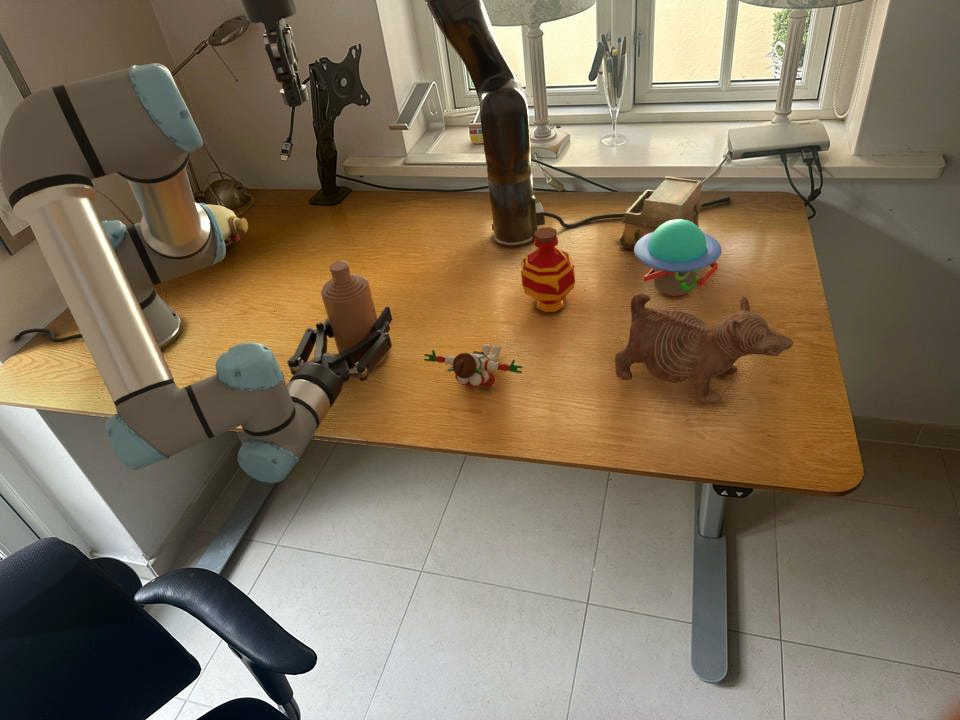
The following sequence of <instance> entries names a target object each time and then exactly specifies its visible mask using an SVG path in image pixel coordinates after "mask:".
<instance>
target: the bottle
mask: <svg viewBox="0 0 960 720" xmlns="http://www.w3.org/2000/svg"><path fill="white" fill-rule="evenodd" d="M328 269H329V272H330V274H331V279H329V280H328V281H326V282H325V283H324V284H323V286H322V287H321V290H320V295H321V298H322V302H323V305H324V308H325V312H326V316H327V318H328V319H329V323H330V326H331V329H332V333H333V336H334V337H333V340H334V342H335V346H336V349H337V352H338V353H337V354H339V353H341V352H342V351H343V350H345V349H346V350H349V349H350V348H352V347H353V346H355V345H356V344H357V343H359V342H360V341H361V340H363V339H364V338H366V337H367V336H368V335H370V334H371V333H373V332H372V329H371V328H372V327H373V325H374V324H375V322H376V321H377V319H378V315H377V311H376V307H375V303H374V298H373V294H372V290H371V286H370V283H369V281H368V279H367V278H366V277H364V276H363V275H361V274H356V273H351V269H350V263H348V262H347V261H346V260H337V261H335V262H332V263H331V264H330V265H329V267H328ZM386 355H387V353H386V354H385V355H384V356H383V357H382V358H381V360H380V361H379V362H378V363H377V364H376V365H375V366H374V368H377V367H378V366H380V365H381V364H382V363H383V361H384V360H385V358H386ZM345 359H346V358H345ZM374 368H373V369H374Z"/></svg>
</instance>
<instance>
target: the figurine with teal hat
mask: <svg viewBox="0 0 960 720" xmlns="http://www.w3.org/2000/svg"><path fill="white" fill-rule="evenodd" d="M722 250H723V249H722V246H721V244H720V243H719V241H718V240H717V239H716V238H715V237H713V236H712V235H710V234H708V233H705V232H703V230H702V229H701V228H700V226H699V227H698V226H697V225H696V224H694V223H692V222H690V221H688V220H682V219H675V220H670V221H667V222H665V223H664V224H662V225H660V226H659V227H658V228H657V229H656V230H655V231H654V232H651V233H649V234H647V235H645V236H643V237H642V238H641V239H640V240H638V242H637V243H636V245H635V247H634V250H633V252H634V256H635V257H636V258H637V259H638V261H640V262H641V263H642V264H644V265H645V266H647V267H650V268H651V269H650V270H649V271H648V272H647V273H646V274H645V275H644V276H643V282H644V283H645V282H648V281H651V280H653V287H654V289H656V291H658V292H659V293H662V294H666V295H668V296H671V297H678V296H682V295H685V294H689V293H691V292H693V291H694V290H695V289H696V287H697V286H699V287H703V286H704V285H705V283H706V282H708V280H709V279H710V278H711V277H712V276H713V275H714V274H715V272H717V270H718V266H719V264H718V262H717V260H718V259H719V258H720V257H721V255H722ZM707 267H711V268H710V270H709V271H707V272H706V274H705V275H704V276H703V277H700V278H699V277H698V273H699V272H701V271H703V269H704V268H707Z"/></svg>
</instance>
